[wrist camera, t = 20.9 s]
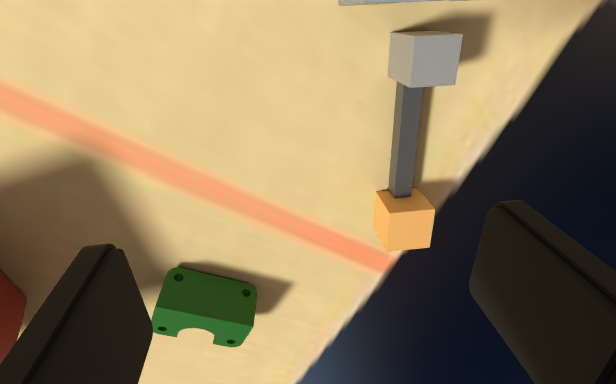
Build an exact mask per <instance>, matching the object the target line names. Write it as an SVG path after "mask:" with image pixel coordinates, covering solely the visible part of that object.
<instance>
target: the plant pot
mask: <svg viewBox="0 0 616 384" xmlns="http://www.w3.org/2000/svg"><path fill="white" fill-rule="evenodd" d="M25 304H26V299H25V297H24V296H23V295H22V294H21V293H20V292H19V291H18V290H17V289H16V288H15V287H14V286H13V285H12V284H11V283H10V282H9V280H8V279H7V278H6V277H5V276H4V275H3V274H2V273H1V272H0V364H1V363H2V361H3V360H4V358H5V357H6V356H7V354H8V353H9V351H10V350H11V349H12V347H13V346H14V344H15V343H16V341H17V338H18V334H19V331H20V327H21V323H22V319H23V315H24V310H25Z"/></svg>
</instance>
